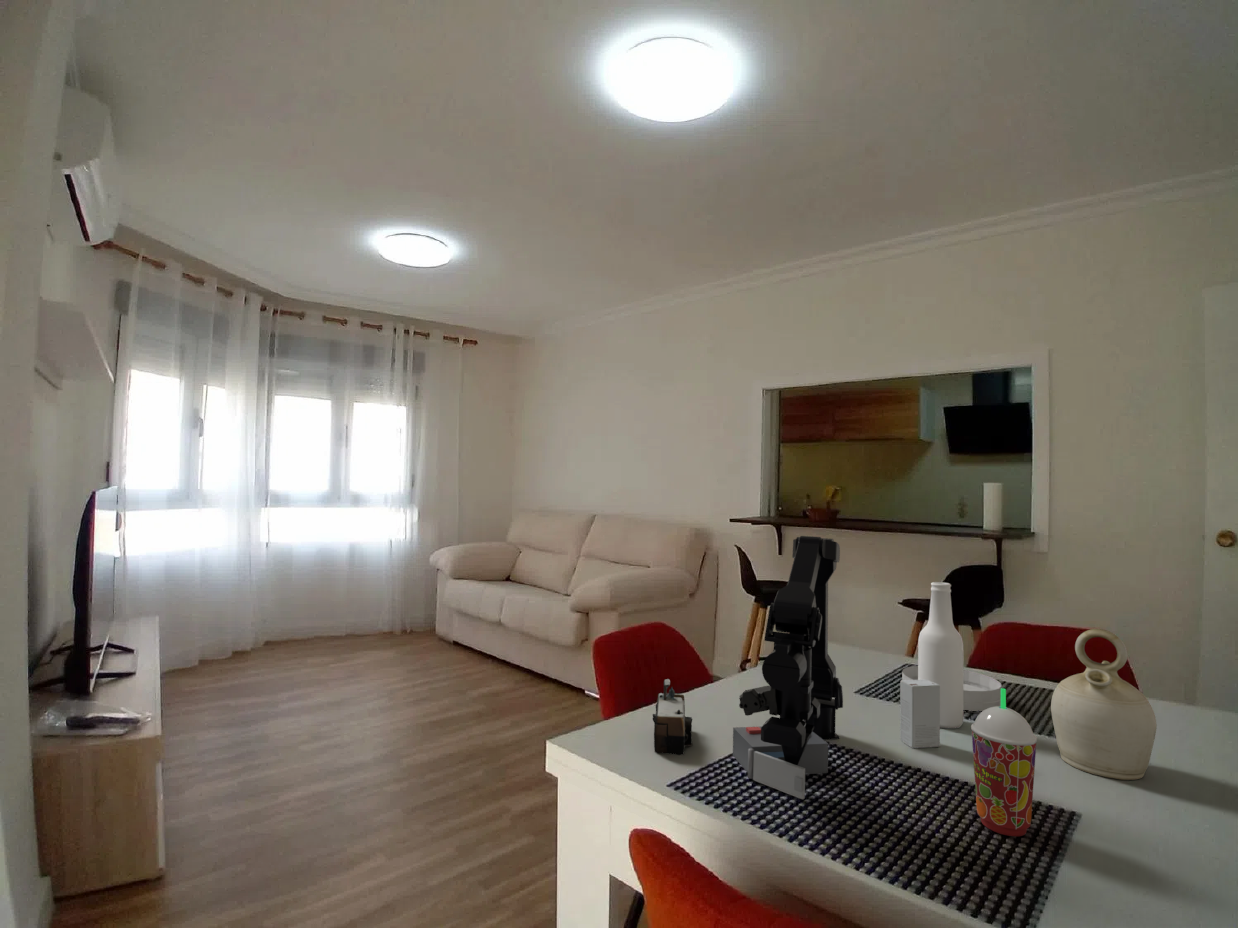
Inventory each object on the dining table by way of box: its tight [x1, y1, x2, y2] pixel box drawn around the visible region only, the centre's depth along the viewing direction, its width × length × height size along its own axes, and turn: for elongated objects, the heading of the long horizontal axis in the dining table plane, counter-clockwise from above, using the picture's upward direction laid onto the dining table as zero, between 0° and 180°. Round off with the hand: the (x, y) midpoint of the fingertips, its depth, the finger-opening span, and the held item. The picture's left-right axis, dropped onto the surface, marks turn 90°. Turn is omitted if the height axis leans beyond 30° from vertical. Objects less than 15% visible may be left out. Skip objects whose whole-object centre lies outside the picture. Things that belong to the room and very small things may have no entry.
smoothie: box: [970, 688, 1038, 837], centre depth 93 cm, size 8×8×20 cm
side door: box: [747, 748, 806, 800], centre depth 102 cm, size 10×2×5 cm, turn 45°
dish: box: [901, 665, 1003, 711], centre depth 155 cm, size 22×22×5 cm
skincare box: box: [899, 679, 941, 749], centre depth 124 cm, size 6×4×12 cm
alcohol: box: [917, 581, 965, 730], centre depth 137 cm, size 9×9×30 cm
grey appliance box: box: [732, 725, 829, 775], centre depth 112 cm, size 14×9×6 cm, turn 100°
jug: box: [1050, 628, 1158, 781], centre depth 116 cm, size 15×16×25 cm
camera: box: [652, 678, 693, 756], centre depth 122 cm, size 15×8×10 cm, turn 172°
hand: (791, 771), depth 103 cm, fingers closed
